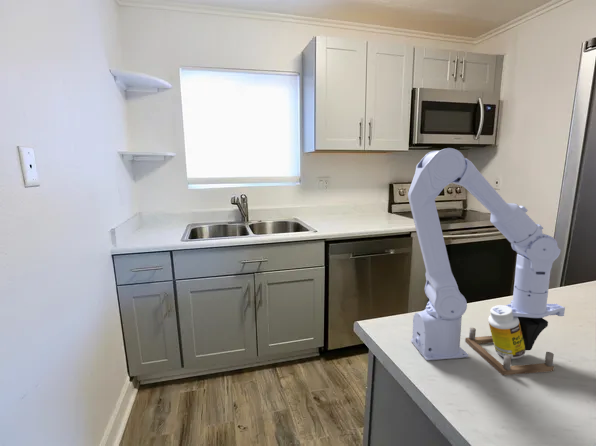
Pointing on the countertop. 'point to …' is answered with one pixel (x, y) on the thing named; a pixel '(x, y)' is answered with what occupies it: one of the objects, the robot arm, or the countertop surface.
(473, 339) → the peg frame
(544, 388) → the countertop surface
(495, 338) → the supplement bottle
